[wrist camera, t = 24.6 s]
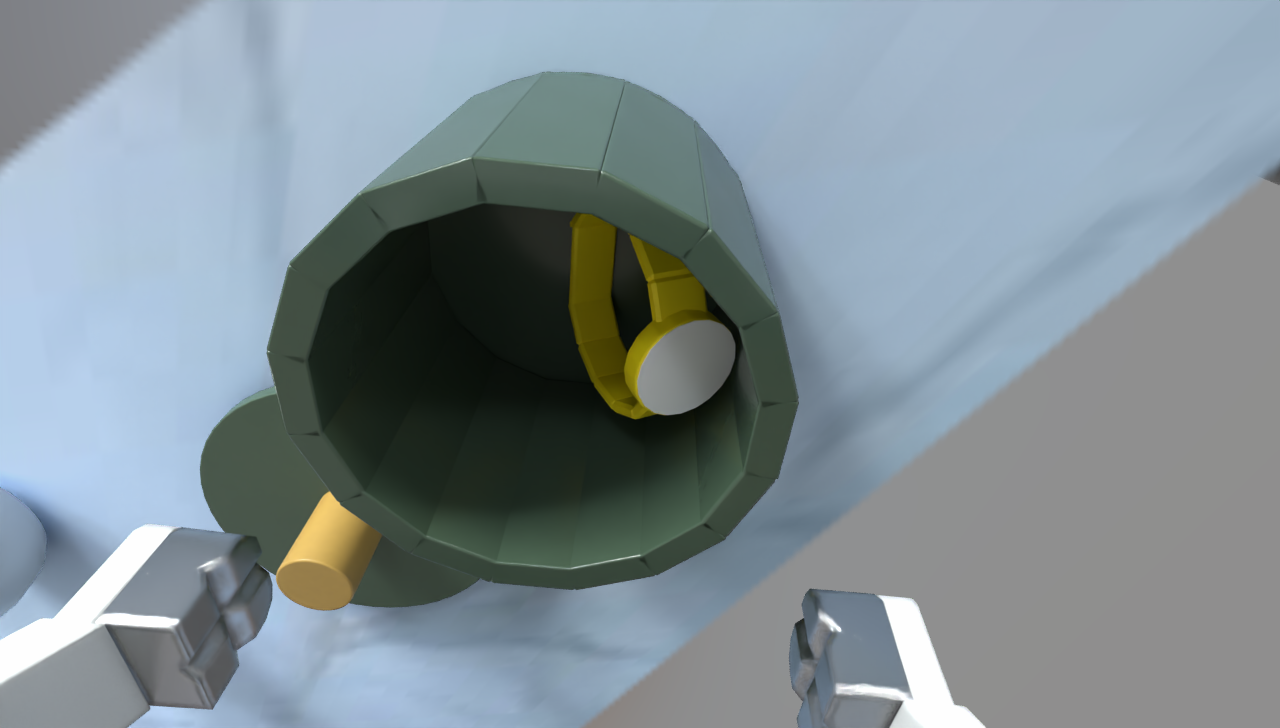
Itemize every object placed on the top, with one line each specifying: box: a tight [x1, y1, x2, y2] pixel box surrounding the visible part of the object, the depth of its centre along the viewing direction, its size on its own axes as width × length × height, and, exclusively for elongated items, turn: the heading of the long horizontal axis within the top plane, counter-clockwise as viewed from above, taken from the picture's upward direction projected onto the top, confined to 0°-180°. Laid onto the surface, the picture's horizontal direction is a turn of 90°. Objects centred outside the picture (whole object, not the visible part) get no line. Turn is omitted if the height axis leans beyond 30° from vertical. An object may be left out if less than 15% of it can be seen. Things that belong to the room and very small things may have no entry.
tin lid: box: [200, 386, 480, 610], centre depth 25 cm, size 11×11×5 cm
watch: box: [568, 213, 735, 419], centre depth 18 cm, size 6×3×6 cm
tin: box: [267, 72, 799, 590], centre depth 17 cm, size 11×11×8 cm
